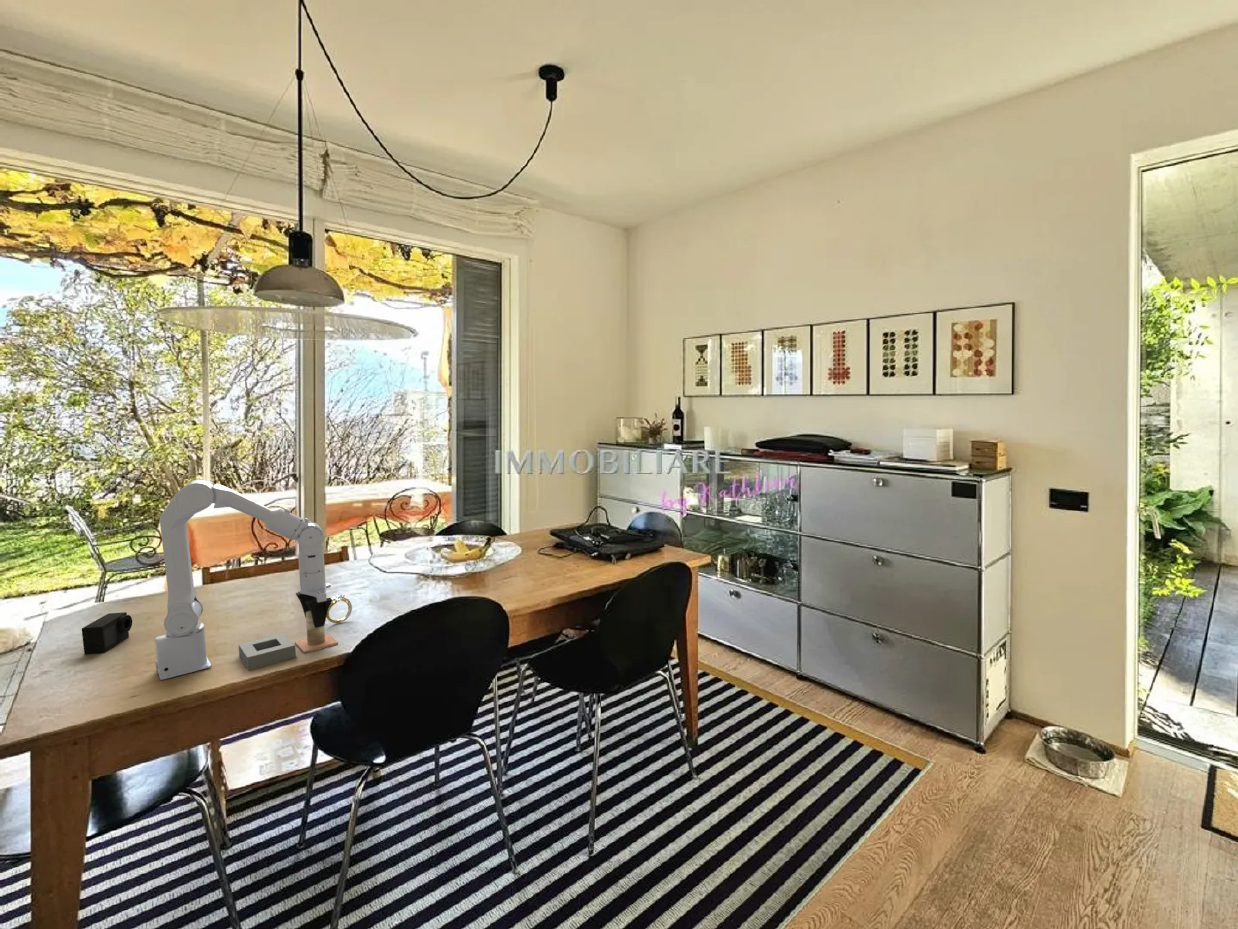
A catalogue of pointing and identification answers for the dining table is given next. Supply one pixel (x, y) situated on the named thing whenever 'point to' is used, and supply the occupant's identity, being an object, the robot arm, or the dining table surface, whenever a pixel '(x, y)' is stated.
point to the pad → (308, 648)
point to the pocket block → (267, 651)
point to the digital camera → (106, 633)
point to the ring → (335, 599)
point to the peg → (314, 631)
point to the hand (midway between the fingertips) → (315, 622)
